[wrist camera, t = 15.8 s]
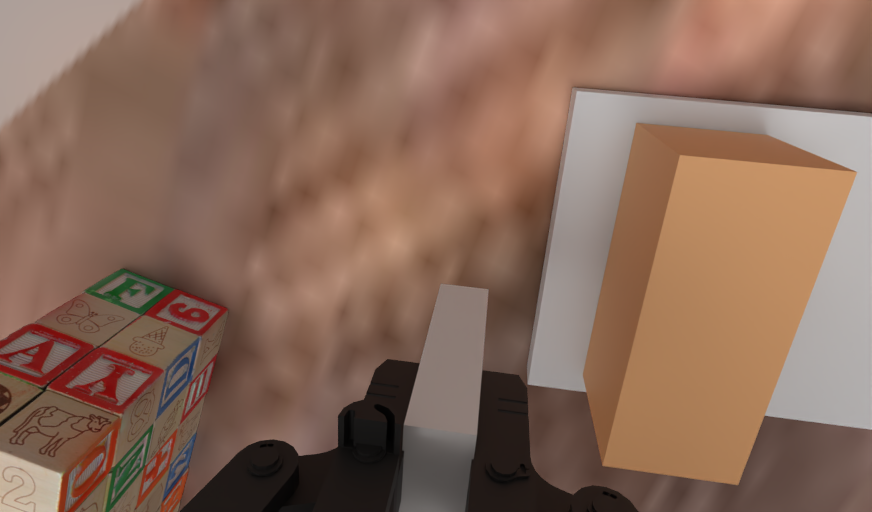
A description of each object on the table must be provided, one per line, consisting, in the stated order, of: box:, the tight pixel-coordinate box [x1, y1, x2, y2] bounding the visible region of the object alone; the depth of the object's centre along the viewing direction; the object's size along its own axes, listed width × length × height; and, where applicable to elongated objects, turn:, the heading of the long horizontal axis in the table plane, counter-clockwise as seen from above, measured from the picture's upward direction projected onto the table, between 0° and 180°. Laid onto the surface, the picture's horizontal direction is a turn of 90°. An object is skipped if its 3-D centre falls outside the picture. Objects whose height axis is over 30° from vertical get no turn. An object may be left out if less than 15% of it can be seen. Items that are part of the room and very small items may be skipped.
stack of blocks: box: [0, 269, 228, 512], centre depth 28 cm, size 21×6×12 cm, turn 160°
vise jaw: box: [583, 123, 857, 485], centre depth 21 cm, size 12×5×6 cm, turn 176°
